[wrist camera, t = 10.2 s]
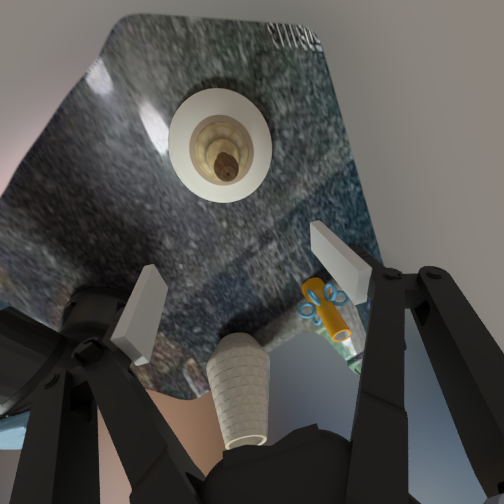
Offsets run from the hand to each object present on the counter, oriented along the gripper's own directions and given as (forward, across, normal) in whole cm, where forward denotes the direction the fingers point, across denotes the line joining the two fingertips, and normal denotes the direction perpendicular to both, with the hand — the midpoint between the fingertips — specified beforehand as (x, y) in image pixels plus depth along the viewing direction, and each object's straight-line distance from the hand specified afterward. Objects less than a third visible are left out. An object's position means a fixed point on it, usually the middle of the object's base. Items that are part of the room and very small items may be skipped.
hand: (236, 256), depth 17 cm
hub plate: (+23, +1, +5) cm, 24 cm away
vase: (+24, -9, -46) cm, 53 cm away
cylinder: (+23, +15, -30) cm, 41 cm away
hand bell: (+22, +1, +5) cm, 22 cm away
